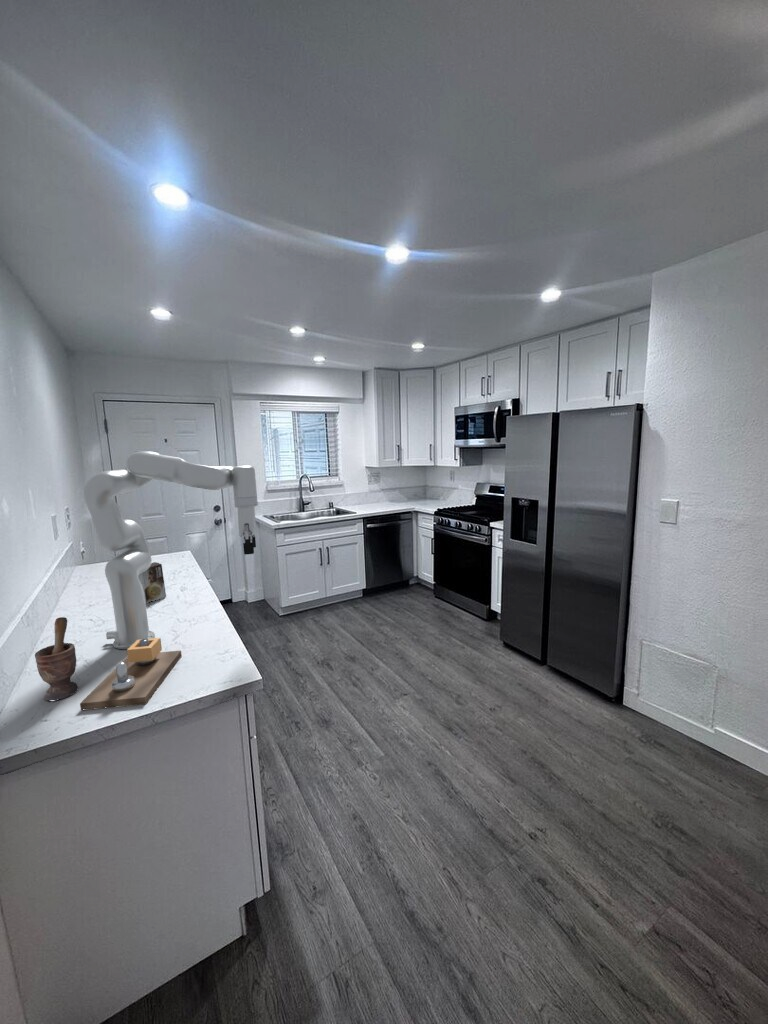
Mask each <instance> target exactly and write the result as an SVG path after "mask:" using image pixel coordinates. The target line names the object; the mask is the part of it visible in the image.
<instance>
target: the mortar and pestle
mask: <svg viewBox="0 0 768 1024" xmlns="http://www.w3.org/2000/svg"><path fill="white" fill-rule="evenodd" d="M67 627H68V618H67V617H63V616H62V617H56V619H55V621H54V644H53V645H49V646H46V647H44V648H41V649H40V650H38V651H35V654H34V658H35V663H36V669H37V671H38V674H39V677H40V678H41V679H42V681H43V682H45V683H46V684H48V685H49V688H48V689H46V691H45V693H44V699H45V698H46V699H47V700H46V699H45V700H46V701H48V700H56V701H58V700H57V699H60V700H62V699H65V698H68V697H71V696H72V695H73V693H74V694H75V693H77V691H78V690H77V689H79V686H78V684H77V683H76V682H74V681H72V680H71V678H72V676H74V673H75V672H76V666H77V655H76V648H75V644H73V643H70V642H69V643H68V642H65V637H66V631H67ZM71 694H72V695H71ZM61 698H62V699H61Z"/></svg>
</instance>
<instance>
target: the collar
mask: <svg viewBox="0 0 768 1024" xmlns="http://www.w3.org/2000/svg"><path fill="white" fill-rule="evenodd" d="M140 640H142V639H140ZM140 640H137V641H136V642H135V643H134V644H132V645H131V646H130V647H129V648H128V649H126V653H127V656H128V661H129V662H140V661H151V660H154V658H155V657H156V656H157V655H158V654H159V653H160V652H162V651H163V647H162V640H161V637H154V638H151V639H148V642H149V646H143V647H140V644H139V641H140Z"/></svg>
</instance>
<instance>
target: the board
mask: <svg viewBox="0 0 768 1024" xmlns="http://www.w3.org/2000/svg"><path fill="white" fill-rule="evenodd" d="M182 657H183V656H182V650H172V651H170V650H169V651H160V653H159V654H158V655H157V656H156V661H155V662H154V663H152V664H150V665H147V666H137V662H129V661H128V655H127V656H126V657H125V658H124V659H123V660H122V661H121V662H124V663H125V664H126V667H127V674H128V676H134V680H135V686H134V687H133V688H132V689H130V690H128V691H125V692H121V693H115V692H113V688H112V682H113V681H114V680H116V679H117V672H116V667H115V668H114V669H113V670H112V671H111V672H110V673H109V674H108V675H107V676H106V677H105V678H104V679H103V680H102V681H101V682H99V684H98V685H97V686H95V688H94V689H93V690H92V691H91V692H90V693H89V694H88V695H87V696H86V697H85V698H84V699H83V700H82V701H81V702H80V703H79V707H80V711H81V710H82V711H84V710H83V709H92V710H95V709H94V708H102V709H106V708H105V707H112V708H118V707H117V706H122V707H128V706H129V707H130V705H132V706H140V704H141V705H147V704H148V703H149V701H150V700H151V698H152V697H153V696H154V695H155V693H156V692H157V690H158V689H159V688H160V687H161V686H162V684H163V682H164V681H165V679H167V677H168V676H169V674H170V673H171V671H172V670H173V669H174V667H175V666H176V665H177V664H178V662H179V661H180V660H181V658H182ZM157 688H158V689H157ZM155 691H156V692H155ZM154 692H155V693H154ZM152 695H153V696H152ZM151 696H152V697H151ZM149 699H150V700H149ZM127 705H128V706H127Z"/></svg>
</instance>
